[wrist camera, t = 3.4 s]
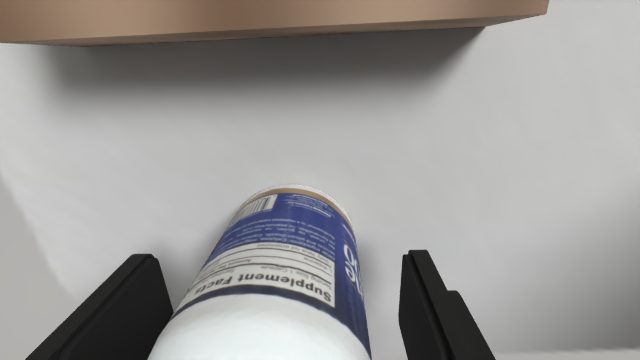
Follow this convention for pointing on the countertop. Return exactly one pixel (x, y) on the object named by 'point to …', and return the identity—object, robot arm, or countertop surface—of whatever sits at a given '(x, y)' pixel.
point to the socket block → (239, 18)
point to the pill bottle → (275, 286)
